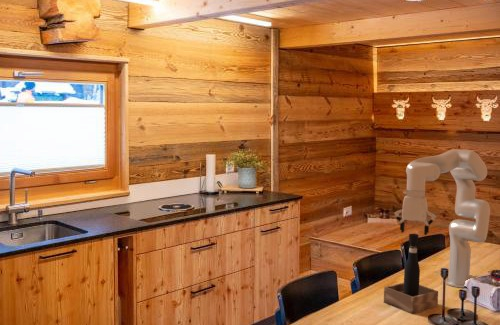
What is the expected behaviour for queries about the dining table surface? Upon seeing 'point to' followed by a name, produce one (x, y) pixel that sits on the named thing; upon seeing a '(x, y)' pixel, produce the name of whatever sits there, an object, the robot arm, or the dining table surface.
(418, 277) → the wine bottle
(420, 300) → the crate
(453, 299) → the dining table surface
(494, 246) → the dining table surface
